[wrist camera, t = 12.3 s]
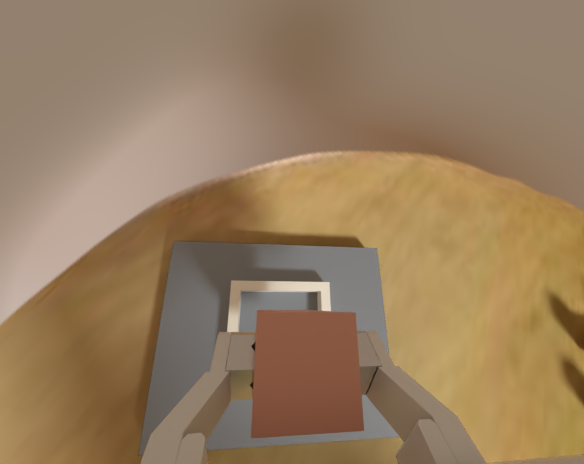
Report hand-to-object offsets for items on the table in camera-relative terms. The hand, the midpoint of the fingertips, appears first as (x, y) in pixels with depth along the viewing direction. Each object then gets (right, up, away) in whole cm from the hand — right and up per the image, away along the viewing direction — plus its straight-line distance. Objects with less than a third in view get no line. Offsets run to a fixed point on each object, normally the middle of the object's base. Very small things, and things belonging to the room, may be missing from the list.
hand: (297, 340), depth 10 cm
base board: (-2, -5, +12) cm, 13 cm away
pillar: (-1, -2, +5) cm, 6 cm away
